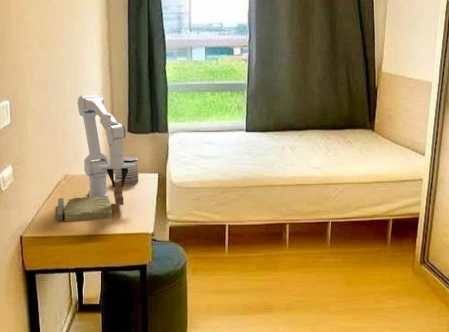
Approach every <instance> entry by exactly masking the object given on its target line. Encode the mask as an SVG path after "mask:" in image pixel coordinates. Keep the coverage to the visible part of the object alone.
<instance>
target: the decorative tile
mask: <svg viewBox="0 0 449 332" xmlns="http://www.w3.org/2000/svg"><path fill="white" fill-rule="evenodd" d="M112 214H113V213H112V206H111V202H110V199H109V197H108V196H107V197H89V196H85V197H74V198H68V202H66V205H65V206H64V208H63V220H64V221H66V222H69V221H81V220H94V219H95V220H96V219H107V218H108V219H110V218H112Z"/></svg>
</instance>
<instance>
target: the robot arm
mask: <svg viewBox="0 0 449 332" xmlns="http://www.w3.org/2000/svg"><path fill="white" fill-rule="evenodd" d="M77 99H78V100H77V107H78V108H77V109H78V113H79V116H82V119H83V123H84V124H83V125H84V130H85V136H86V141H87V146H88V153H89V154H88V155H87V156H86V157H85V158H84V161H83V164H84V166H83V169H84V172H85V174H86V175H87V176H88V182H89V183H88V184H89V190H88V197H108V196H109V193H108V189H107V175H108V177H109V179H110V181H111V184H112V188H113V189H114V188H115V187H114V180H115V170H120V169H121V173H122V188H124V187H125V185H124V181H125V178H126V175H127V173H128V169H136V168H135V164H129V163H124V157H125V149H124V146H125V145H124V139H125V138H126V137H127V136H126V135H127V131H126V128H125V125H124V124H122V123H120V122H119V121H117V120H116V118H115V117H114V115H112V114H111V113H109V112H108V111H107V109H106V107H105V100H104V97H103V95H102V94H100V93H98V94H90V95H79V97H78V98H77ZM96 116H98V117H99V118H100V119H99V123H100V124H101V125H102V127H103V128H104V130H105V134H106V139H107V144H108V146H109V147H108V148H109V150H108V151H109V160H108V156H107V155H105V154H104V153H102V152H101V145H100V140H99V132H98V127H97V121H96Z"/></svg>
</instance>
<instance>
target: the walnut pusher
mask: <svg viewBox="0 0 449 332" xmlns="http://www.w3.org/2000/svg"><path fill="white" fill-rule="evenodd" d="M114 187H115V188H113V197H114V202H115V203H114V204H115V206H124V204H125V203H124V195H123V187H122V180H115V179H114Z"/></svg>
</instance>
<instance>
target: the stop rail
mask: <svg viewBox="0 0 449 332" xmlns="http://www.w3.org/2000/svg"><path fill="white" fill-rule="evenodd" d="M64 199H65V198H64V197H61V198H60V197H59V198H58V199H57V210H56V221H57V222H63V220H64V212H63V208H64V207H65V201H64Z"/></svg>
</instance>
